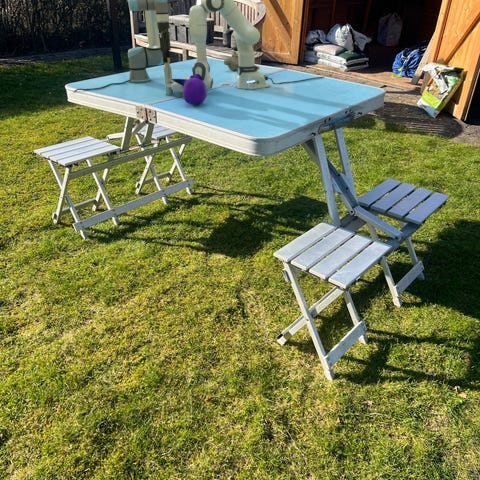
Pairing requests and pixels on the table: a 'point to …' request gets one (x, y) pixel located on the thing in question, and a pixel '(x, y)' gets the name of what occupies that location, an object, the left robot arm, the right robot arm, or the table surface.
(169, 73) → the bottle
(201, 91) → the toy
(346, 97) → the table surface
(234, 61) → the teapot
